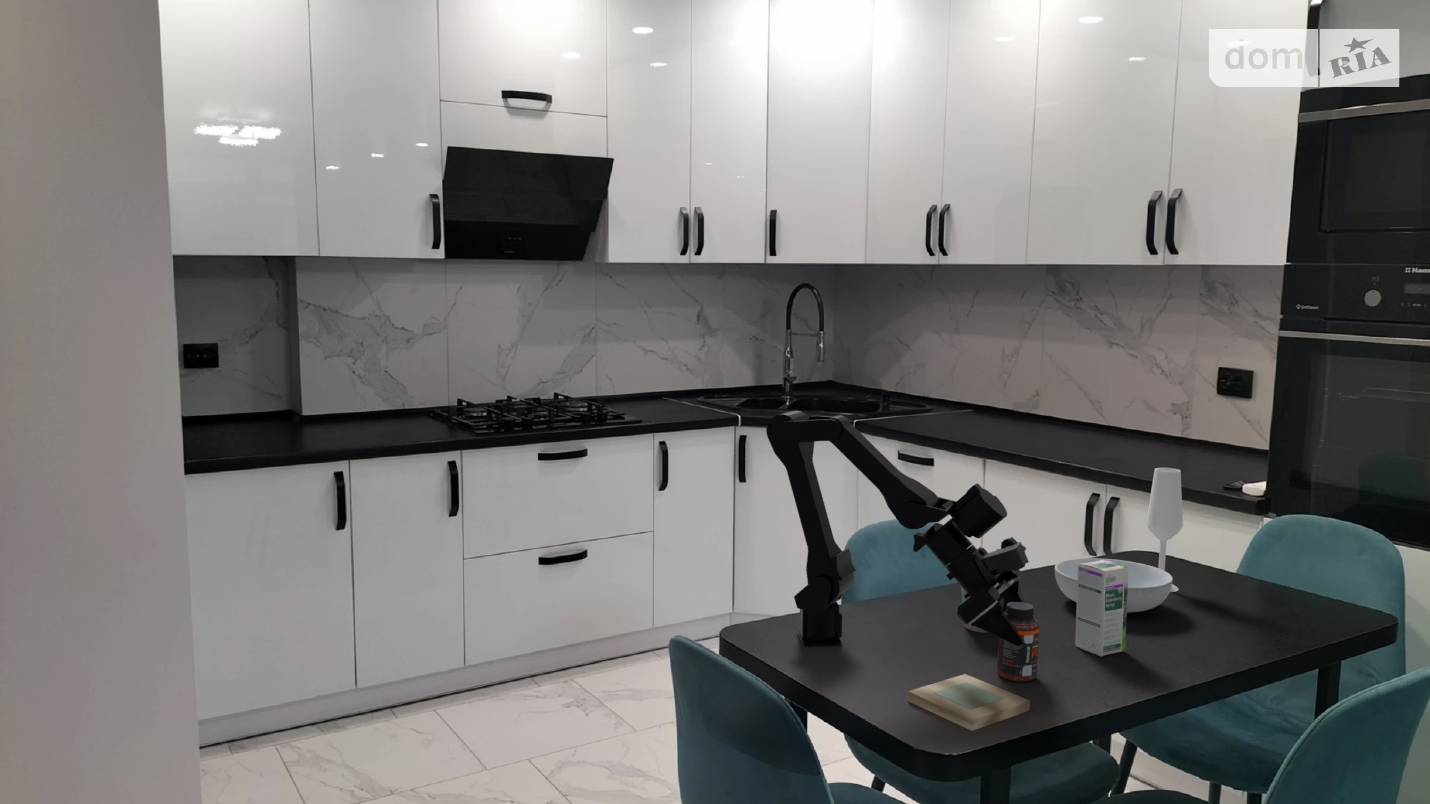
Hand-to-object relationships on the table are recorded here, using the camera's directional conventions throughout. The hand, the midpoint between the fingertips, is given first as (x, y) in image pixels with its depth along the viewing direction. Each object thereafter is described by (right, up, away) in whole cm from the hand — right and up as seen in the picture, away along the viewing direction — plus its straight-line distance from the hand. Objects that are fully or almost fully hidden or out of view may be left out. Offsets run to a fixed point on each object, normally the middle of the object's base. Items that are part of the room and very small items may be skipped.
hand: (1027, 635), depth 158 cm
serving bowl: (+27, -3, +37) cm, 46 cm away
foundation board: (-12, -8, -10) cm, 17 cm away
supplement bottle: (-1, -7, +1) cm, 7 cm away
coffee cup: (-1, -4, +24) cm, 24 cm away
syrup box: (+16, -6, +14) cm, 22 cm away
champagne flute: (+42, -2, +49) cm, 64 cm away
